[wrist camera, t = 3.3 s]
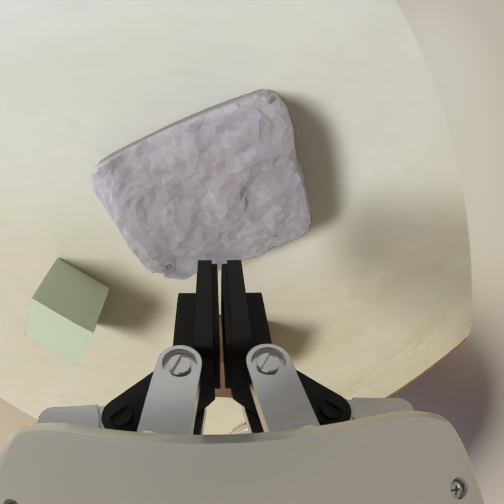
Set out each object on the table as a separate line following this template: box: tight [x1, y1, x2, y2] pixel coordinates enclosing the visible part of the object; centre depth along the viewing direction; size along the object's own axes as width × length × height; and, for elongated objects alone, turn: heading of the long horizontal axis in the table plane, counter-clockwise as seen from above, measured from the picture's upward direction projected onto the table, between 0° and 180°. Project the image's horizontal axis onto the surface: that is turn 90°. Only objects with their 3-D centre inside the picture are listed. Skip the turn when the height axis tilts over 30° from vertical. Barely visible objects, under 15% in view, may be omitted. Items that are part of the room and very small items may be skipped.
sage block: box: [24, 258, 110, 365], centre depth 20 cm, size 5×5×5 cm
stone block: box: [91, 89, 312, 280], centre depth 18 cm, size 12×5×10 cm
